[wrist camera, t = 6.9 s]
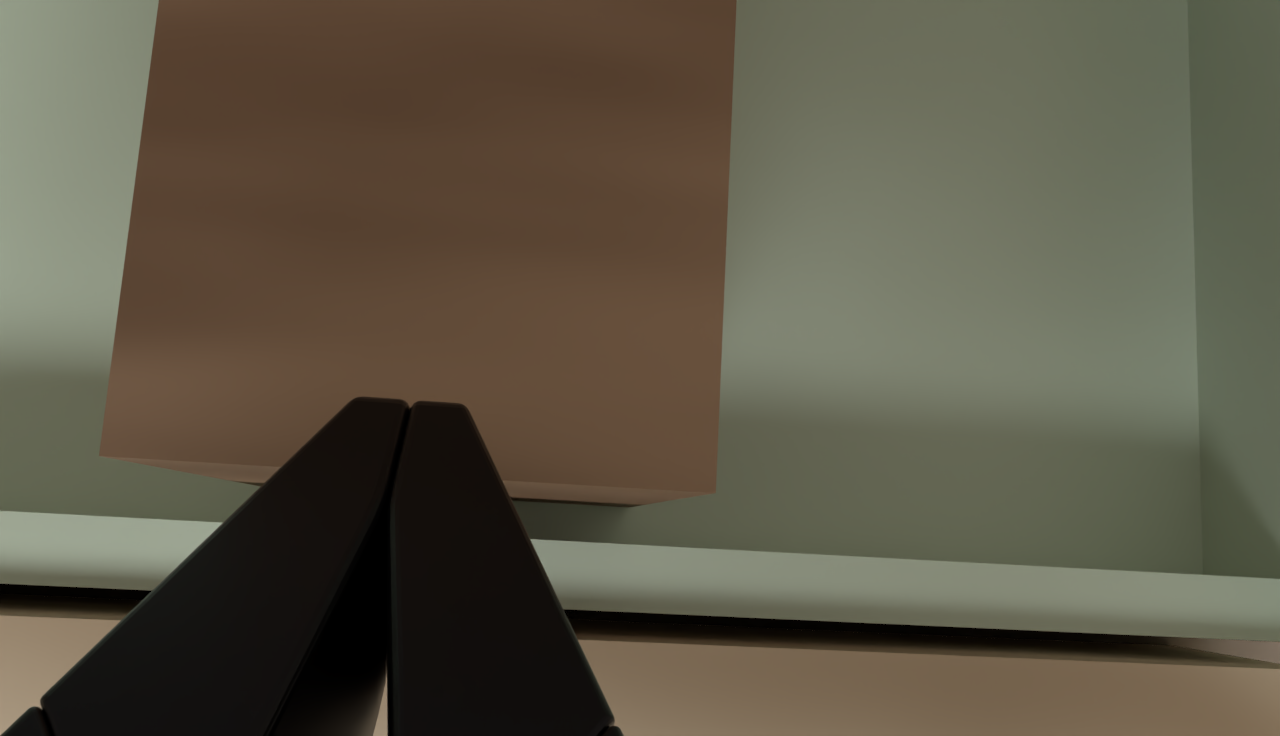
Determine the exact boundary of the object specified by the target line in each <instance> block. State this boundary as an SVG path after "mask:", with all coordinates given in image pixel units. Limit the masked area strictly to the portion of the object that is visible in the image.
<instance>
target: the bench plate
mask: <svg viewBox="0 0 1280 736" xmlns="http://www.w3.org/2000/svg"><path fill="white" fill-rule="evenodd" d="M141 601H142V600H133V599H110V598H88V597H65V596H43V595H20V594H0V735H1V734H2V733H3V732H4V731H6V730H7V729H8V728H9V727H10V726H11V725H12V724H13V723H14V722H15V721H16V720H17V719H18V718H19V717H20V716H21V715H22V714H23V713H24V712H25V711H26V710H27V709H29V708H30V707H33V706H35V707H39V708H41V706H40V699H41V697H42V696H43V695H44V694H45V693H46V692H47V691H48V690H49V689H50V688H51V687H52V686H53V685H54V684H55V683H56V682H57V681H58V680H59V679H61V678H62V677H63V676H64V675H65V674H66V673H67V672H68V671H69V670H70V669H71V668H72V667H73V666H74V665H75V664H76V663H77V662H78V661H79V660H80V659H81V658H82V657H83V656H84V655H86V654H87V653H88V652H89V651H90V650H91V649H92V648H93V647H94V646H95V645H96V644H97V643H98V642H99V641H100V640H101V639H102V638H103V637H104V636H105V635H106V634H107V633H108V632H110V631H111V630H112V629H113V628H114V627H115V626H116V625H117V624H118V623H119V622H120V621H121V620H122V619H123V618H124V617H125V616H126V615H127V614H128V613H129V612H130V611H131V610H132V609H133V608H135V607H136V606H137V605H138V604H139V603H140V602H141ZM568 620H569V622H570V624H571V626H572V629H573V631H574V633H575V635H576V637H577V639H578V641H579V643H580V645H581V648H582V650H583V652H584V654H585V656H586V658H587V660H588V662H589V664H590V667H591V669H592V671H593V673H594V675H595V677H596V679H597V681H598V683H599V686H600V688H601V690H602V692H603V694H604V696H605V698H606V700H607V703H608V705H609V707H610V709H611V711H612V713H613V715H614V718H615V724H614V726H618V727H619V728H620V729H621V731H622V733H623V735H624V736H1280V664H1277V663H1271V662H1265V661H1259V660H1253V659H1247V658H1242V657H1236V656H1230V655H1224V654H1218V653H1212V652H1206V651H1200V650H1195V649H1189V648H1183V647H1177V646H1169V645H1147V644H1124V643H1102V642H1079V641H1057V640H1034V639H1012V638H989V637H967V636H944V635H922V634H899V633H877V632H854V631H832V630H809V629H786V628H764V627H741V626H719V625H696V624H674V623H651V622H629V621H606V620H584V619H568ZM373 736H387V677H386V683H385V688H384V692H383V696H382V701H381V705H380V710H379V714H378V718H377V722H376V726H375V730H374V734H373Z"/></svg>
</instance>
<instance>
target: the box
mask: <svg viewBox="0 0 1280 736" xmlns="http://www.w3.org/2000/svg"><path fill="white" fill-rule="evenodd" d="M158 3H159V0H0V584H19V585H41V586H63V587H85V588H107V589H129V590H151V591H152V590H153V589H154V588H155V587H156V586H157V585H159V584H160V583H161V582H162V581H163V580H164V579H165V578H166V577H167V576H168V575H169V574H170V573H171V572H172V571H173V570H174V569H175V568H176V567H177V566H178V565H179V564H180V563H181V562H183V561H184V560H185V559H186V558H187V557H188V556H189V555H190V554H191V553H192V552H193V551H194V550H195V549H196V548H197V547H198V546H199V545H200V544H201V543H202V542H203V541H204V540H205V539H206V538H208V537H209V536H210V535H211V534H212V533H213V532H214V531H215V530H216V529H217V528H218V527H219V526H220V525H221V524H222V523H223V522H224V521H225V520H226V519H227V518H228V517H229V516H230V515H232V514H233V513H234V512H235V511H236V510H237V509H238V508H239V507H240V506H241V505H242V504H243V503H244V502H245V501H246V500H247V499H248V498H249V497H250V496H251V495H252V494H253V493H254V492H255V491H257V490H258V489H259V488H260V487H261V486H255V485H250V484H245V483H240V482H234V481H229V480H224V479H218V478H213V477H208V476H202V475H197V474H192V473H186V472H181V471H176V470H170V469H165V468H160V467H154V466H149V465H144V464H138V463H133V462H128V461H122V460H117V459H112V458H106V457H101V456H99V451H100V443H101V436H102V428H103V421H104V413H105V405H106V398H107V390H108V383H109V375H110V367H111V360H112V352H113V345H114V337H115V329H116V322H117V314H118V307H119V299H120V291H121V284H122V276H123V269H124V261H125V253H126V246H127V238H128V231H129V223H130V215H131V208H132V200H133V193H134V185H135V177H136V170H137V162H138V155H139V147H140V139H141V132H142V124H143V117H144V109H145V101H146V94H147V86H148V79H149V71H150V63H151V56H152V48H153V41H154V33H155V25H156V18H157V10H158ZM512 502H513V504H514V506H515V508H516V510H517V512H518V514H519V517H520V519H521V521H522V523H523V525H524V527H525V529H526V531H527V533H528V536H529V538H530V540H531V542H532V544H533V546H534V548H535V550H536V552H537V555H538V557H539V559H540V561H541V563H542V565H543V567H544V569H545V572H546V574H547V576H548V578H549V580H550V582H551V584H552V586H553V588H554V591H555V593H556V595H557V597H558V599H559V601H560V603H561V605H562V607H563V609H569V610H591V611H613V612H635V613H657V614H679V615H701V616H723V617H745V618H767V619H789V620H811V621H833V622H855V623H877V624H899V625H921V626H943V627H965V628H987V629H1009V630H1031V631H1053V632H1075V633H1097V634H1119V635H1141V636H1163V637H1185V638H1207V639H1229V640H1251V641H1273V642H1280V0H737V3H736V27H735V50H734V74H733V98H732V121H731V145H730V169H729V192H728V216H727V240H726V263H725V287H724V311H723V334H722V358H721V382H720V405H719V429H718V453H717V476H716V493H713V494H707V495H701V496H695V497H689V498H683V499H677V500H671V501H665V502H659V503H653V504H647V505H641V506H635V507H612V506H595V505H577V504H560V503H542V502H525V501H512Z"/></svg>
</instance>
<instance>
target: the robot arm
mask: <svg viewBox="0 0 1280 736" xmlns="http://www.w3.org/2000/svg"><path fill="white" fill-rule="evenodd" d="M386 677H387V736H624V735H623V733H622V731H621V729H620V728H619V727H618V726H614V724H615V718H614V715H613V713H612V711H611V709H610V707H609V705H608V703H607V700H606V698H605V696H604V694H603V692H602V690H601V688H600V686H599V683H598V681H597V679H596V677H595V675H594V673H593V671H592V669H591V667H590V664H589V662H588V660H587V658H586V656H585V654H584V652H583V650H582V648H581V645H580V643H579V641H578V639H577V637H576V635H575V633H574V631H573V629H572V626H571V624H570V622H569V620H568V618H567V616H566V614H565V612H564V610H563V607H562V605H561V603H560V601H559V599H558V597H557V595H556V593H555V591H554V588H553V586H552V584H551V582H550V580H549V578H548V576H547V574H546V572H545V569H544V567H543V565H542V563H541V561H540V559H539V557H538V555H537V552H536V550H535V548H534V546H533V544H532V542H531V540H530V538H529V536H528V533H527V531H526V529H525V527H524V525H523V523H522V521H521V519H520V517H519V514H518V512H517V510H516V508H515V506H514V504H513V502H512V500H511V498H510V495H509V493H508V491H507V489H506V487H505V485H504V483H503V481H502V479H501V476H500V474H499V472H498V470H497V468H496V466H495V464H494V462H493V460H492V457H491V455H490V453H489V451H488V449H487V447H486V445H485V443H484V440H483V438H482V436H481V434H480V432H479V430H478V428H477V426H476V424H475V421H474V419H473V417H472V415H471V413H470V411H469V410H468V408H467V407H466V406H465V405H463V404H460V403H451V402H437V401H417V402H415V403H414V404H413V405H412V406H411V408H410V406H409V404H408V403H407V402H406V401H405V400H402V399H393V398H379V397H365V396H362V397H356V398H354V399H352V400H351V401H349V402H348V403H347V404H346V405H345V406H344V407H343V408H342V409H341V410H340V411H339V412H338V413H337V414H336V415H335V416H334V417H333V418H332V419H331V420H330V421H328V422H327V423H326V424H325V425H324V426H323V427H322V428H321V429H320V430H319V431H318V432H317V433H316V434H315V435H314V436H313V437H312V438H311V439H310V440H309V441H308V442H307V443H306V444H305V445H303V446H302V447H301V448H300V449H299V450H298V451H297V452H296V453H295V454H294V455H293V456H292V457H291V458H290V459H289V460H288V461H287V462H286V463H285V464H284V465H283V466H282V467H281V468H279V469H278V470H277V471H276V472H275V473H274V474H273V475H272V476H271V477H270V478H269V479H268V480H267V481H266V482H265V483H264V484H263V485H262V486H261V487H260V488H259V489H258V490H257V491H255V492H254V493H253V494H252V495H251V496H250V497H249V498H248V499H247V500H246V501H245V502H244V503H243V504H242V505H241V506H240V507H239V508H238V509H237V510H236V511H235V512H234V513H233V514H232V515H230V516H229V517H228V518H227V519H226V520H225V521H224V522H223V523H222V524H221V525H220V526H219V527H218V528H217V529H216V530H215V531H214V532H213V533H212V534H211V535H210V536H209V537H208V538H206V539H205V540H204V541H203V542H202V543H201V544H200V545H199V546H198V547H197V548H196V549H195V550H194V551H193V552H192V553H191V554H190V555H189V556H188V557H187V558H186V559H185V560H184V561H183V562H181V563H180V564H179V565H178V566H177V567H176V568H175V569H174V570H173V571H172V572H171V573H170V574H169V575H168V576H167V577H166V578H165V579H164V580H163V581H162V582H161V583H160V584H159V585H157V586H156V587H155V588H154V589H153V590H152V591H151V592H150V593H149V594H148V595H147V596H146V597H145V598H144V599H143V600H142V601H141V602H140V603H139V604H138V605H137V606H136V607H135V608H133V609H132V610H131V611H130V612H129V613H128V614H127V615H126V616H125V617H124V618H123V619H122V620H121V621H120V622H119V623H118V624H117V625H116V626H115V627H114V628H113V629H112V630H111V631H110V632H108V633H107V634H106V635H105V636H104V637H103V638H102V639H101V640H100V641H99V642H98V643H97V644H96V645H95V646H94V647H93V648H92V649H91V650H90V651H89V652H88V653H87V654H86V655H84V656H83V657H82V658H81V659H80V660H79V661H78V662H77V663H76V664H75V665H74V666H73V667H72V668H71V669H70V670H69V671H68V672H67V673H66V674H65V675H64V676H63V677H62V678H61V679H59V680H58V681H57V682H56V683H55V684H54V685H53V686H52V687H51V688H50V689H49V690H48V691H47V692H46V693H45V694H44V695H43V696H42V697H41V699H40V706H41V708H39V707H35V706H33V707H30V708H29V709H27V710H26V711H25V712H24V713H23V714H22V715H21V716H20V717H19V718H18V719H17V720H16V721H15V722H14V723H13V724H12V725H11V726H10V727H9V728H8V729H7V730H6V731H4V732H3V733H2V734H1V735H0V736H373V734H374V730H375V726H376V722H377V718H378V714H379V710H380V705H381V701H382V696H383V692H384V688H385V683H386Z"/></svg>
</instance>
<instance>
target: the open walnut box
mask: <svg viewBox="0 0 1280 736" xmlns="http://www.w3.org/2000/svg"><path fill="white" fill-rule="evenodd" d="M736 3H737V0H159V3H158V10H157V18H156V25H155V33H154V41H153V48H152V56H151V63H150V71H149V79H148V86H147V94H146V101H145V109H144V117H143V124H142V132H141V139H140V147H139V155H138V162H137V170H136V177H135V185H134V193H133V200H132V208H131V215H130V223H129V231H128V238H127V246H126V253H125V261H124V269H123V276H122V284H121V291H120V299H119V307H118V314H117V322H116V329H115V337H114V345H113V352H112V360H111V367H110V375H109V383H108V390H107V398H106V405H105V413H104V421H103V428H102V436H101V443H100V451H99V456H101V457H106V458H112V459H117V460H122V461H128V462H133V463H138V464H144V465H149V466H154V467H160V468H165V469H170V470H176V471H181V472H186V473H192V474H197V475H202V476H208V477H213V478H218V479H224V480H229V481H234V482H240V483H245V484H250V485H255V486H262V485H263V484H264V483H265V482H266V481H267V480H268V479H269V478H270V477H271V476H272V475H273V474H274V473H275V472H276V471H277V470H278V469H279V468H281V467H282V466H283V465H284V464H285V463H286V462H287V461H288V460H289V459H290V458H291V457H292V456H293V455H294V454H295V453H296V452H297V451H298V450H299V449H300V448H301V447H302V446H303V445H305V444H306V443H307V442H308V441H309V440H310V439H311V438H312V437H313V436H314V435H315V434H316V433H317V432H318V431H319V430H320V429H321V428H322V427H323V426H324V425H325V424H326V423H327V422H328V421H330V420H331V419H332V418H333V417H334V416H335V415H336V414H337V413H338V412H339V411H340V410H341V409H342V408H343V407H344V406H345V405H346V404H347V403H348V402H349V401H351V400H352V399H354V398H356V397H362V396H365V397H379V398H393V399H402V400H405V401H406V402H407V403H408V404H409V406H410V408H411V406H412V405H413V404H414V403H415V402H417V401H437V402H451V403H460V404H463V405H465V406H466V407H467V408H468V410H469V411H470V413H471V415H472V417H473V419H474V421H475V424H476V426H477V428H478V430H479V432H480V434H481V436H482V438H483V440H484V443H485V445H486V447H487V449H488V451H489V453H490V455H491V457H492V460H493V462H494V464H495V466H496V468H497V470H498V472H499V474H500V476H501V479H502V481H503V483H504V485H505V487H506V489H507V491H508V493H509V495H510V498H511V500H512V501H525V502H542V503H560V504H577V505H595V506H612V507H635V506H641V505H647V504H653V503H659V502H665V501H671V500H677V499H683V498H689V497H695V496H701V495H707V494H713V493H716V476H717V453H718V429H719V405H720V382H721V358H722V334H723V311H724V287H725V263H726V240H727V216H728V192H729V169H730V145H731V121H732V98H733V74H734V50H735V27H736Z"/></svg>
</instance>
